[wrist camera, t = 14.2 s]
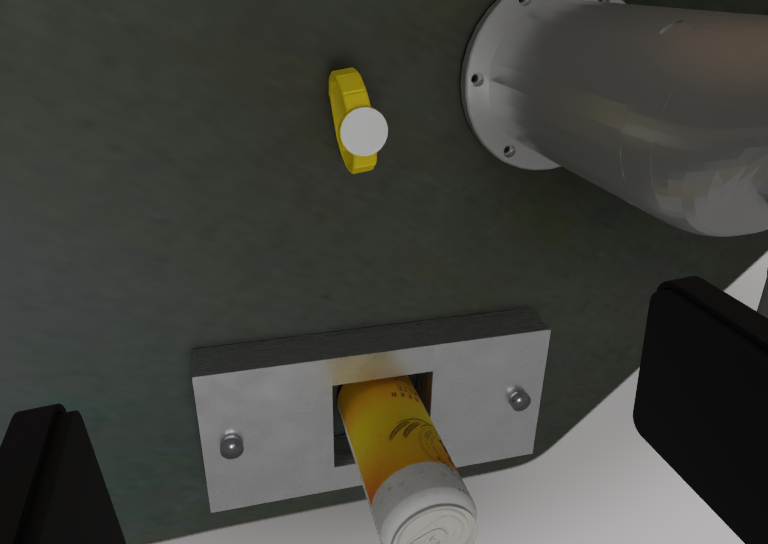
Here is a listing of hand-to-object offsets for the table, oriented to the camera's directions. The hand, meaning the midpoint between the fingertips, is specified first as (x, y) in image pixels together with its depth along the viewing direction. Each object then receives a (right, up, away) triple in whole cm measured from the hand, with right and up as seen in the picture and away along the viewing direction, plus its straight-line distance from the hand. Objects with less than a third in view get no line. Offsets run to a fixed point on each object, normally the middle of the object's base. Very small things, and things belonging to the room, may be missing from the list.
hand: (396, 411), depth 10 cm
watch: (-3, +12, +30) cm, 32 cm away
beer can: (-1, -7, +40) cm, 41 cm away
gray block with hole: (-1, -7, +40) cm, 40 cm away
